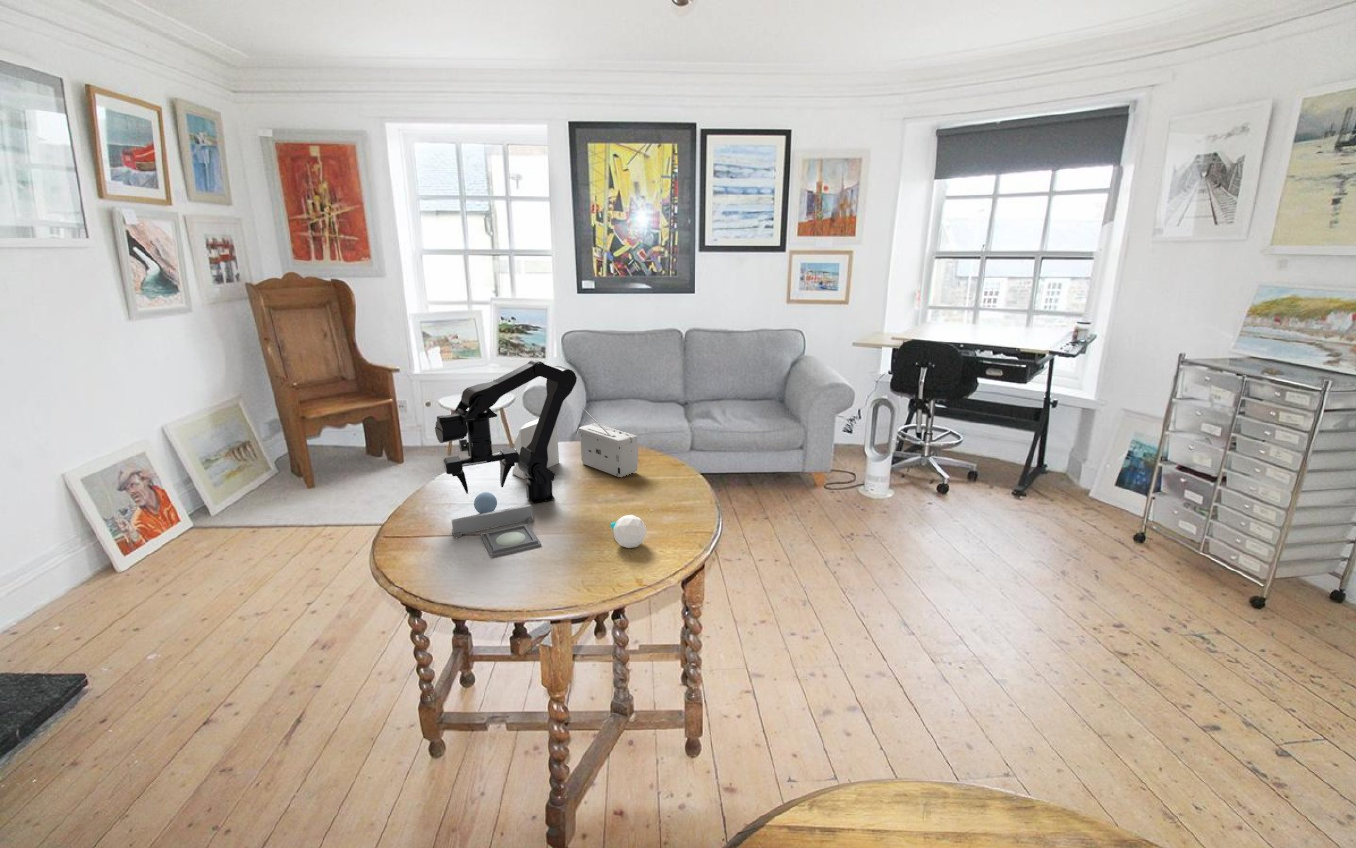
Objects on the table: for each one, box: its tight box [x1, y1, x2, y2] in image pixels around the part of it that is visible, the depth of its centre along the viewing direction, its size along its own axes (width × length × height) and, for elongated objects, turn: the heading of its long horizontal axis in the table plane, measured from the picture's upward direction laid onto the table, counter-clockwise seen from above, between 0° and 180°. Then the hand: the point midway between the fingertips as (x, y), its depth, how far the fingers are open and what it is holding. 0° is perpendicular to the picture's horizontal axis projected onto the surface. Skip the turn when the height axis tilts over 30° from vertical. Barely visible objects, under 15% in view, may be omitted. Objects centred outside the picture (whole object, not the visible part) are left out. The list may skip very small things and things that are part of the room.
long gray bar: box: [451, 503, 535, 539], centre depth 154 cm, size 20×4×4 cm, turn 119°
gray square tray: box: [480, 523, 542, 558], centre depth 147 cm, size 12×12×1 cm
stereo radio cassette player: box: [578, 407, 639, 478], centre depth 192 cm, size 21×8×20 cm, turn 49°
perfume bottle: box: [610, 514, 647, 549], centre depth 146 cm, size 8×8×12 cm
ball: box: [473, 491, 498, 514], centre depth 161 cm, size 6×6×6 cm
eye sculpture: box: [511, 418, 560, 480], centre depth 193 cm, size 17×12×16 cm
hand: (484, 489), depth 160 cm, fingers open, 9 cm apart
